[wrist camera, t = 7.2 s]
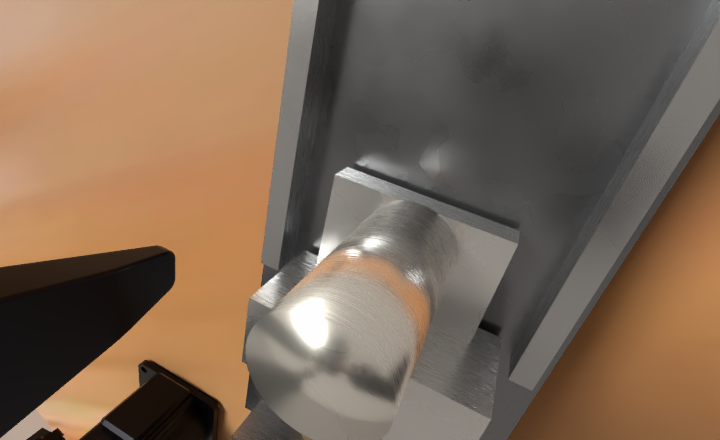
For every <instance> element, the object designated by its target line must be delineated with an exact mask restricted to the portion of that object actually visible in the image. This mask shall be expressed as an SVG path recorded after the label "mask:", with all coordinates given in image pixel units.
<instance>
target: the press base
mask: <svg viewBox="0 0 720 440" xmlns="http://www.w3.org/2000/svg"><path fill="white" fill-rule="evenodd" d="M719 115H720V0H294V4H293V12H292V20H291V28H290V36H289V44H288V52H287V60H286V68H285V76H284V84H283V92H282V100H281V108H280V116H279V124H278V132H277V140H276V148H275V156H274V164H273V172H272V180H271V188H270V196H269V204H268V212H267V220H266V228H265V236H264V244H263V252H262V260H261V263H263V264H264V267H263V274H262V282H261V287H262V286H264V285H265V284H266V283H267V282H268V281H269V280H271V279H272V278H273V277H274V276H275V275H277V274H278V273H279V272H280V271H281V270H283V269H284V268H285V267H286V266H287V265H289V264H290V263H291V262H292V261H293V260H295V259H296V258H297V257H298V256H299V255H301V254H302V253H303V252H304V251H305V250H306V251H308V252H310V253H312V254H315V255H317V256H318V255H319V250H320V245H321V240H322V235H323V230H324V226H325V221H326V216H327V211H328V206H329V201H330V197H331V192H332V187H333V182H334V177H335V174H337V173H338V172H340V171H342V170H343V169H345V168H347V167H349V168H352V169H355V170H357V171H360V172H363V173H365V174H368V175H371V176H373V177H376V178H379V179H381V180H384V181H387V182H390V183H392V184H395V185H398V186H400V187H403V188H406V189H408V190H411V191H414V192H416V193H419V194H422V195H424V196H427V197H430V198H433V199H435V200H438V201H441V202H443V203H446V204H449V205H451V206H454V207H457V208H459V209H462V210H465V211H467V212H470V213H473V214H476V215H478V216H481V217H484V218H486V219H489V220H492V221H494V222H497V223H500V224H502V225H505V226H508V227H510V228H513V229H516V230H519V231H520V233H519V243H518V246H517V248H516V250H515V252H514V254H513V256H512V258H511V260H510V262H509V264H508V266H507V268H506V270H505V273H504V275H503V277H502V279H501V281H500V283H499V285H498V287H497V289H496V291H495V293H494V295H493V297H492V299H491V301H490V303H489V305H488V307H487V309H486V311H485V314H484V316H483V318H482V320H481V322H480V324H479V326H478V328H480V329H482V330H485V331H487V332H489V333H491V334H493V335H496V336H498V337H500V338H502V341H501V348H500V356H499V364H498V371H497V379H496V387H495V394H494V402H493V410H492V417H491V421H490V422H489V424H488V426H487V427H486V429H485V431H484V432H483V434H482V436H481V437H480V439H479V440H507V439H508V437H509V436H510V434H511V433H512V431H513V430H514V428H515V427H516V425H517V424H518V422H519V421H520V419H521V417H522V416H523V414H524V413H525V411H526V410H527V408H528V407H529V405H530V404H531V402H532V401H533V399H534V398H535V396H536V394H537V393H538V391H539V390H540V388H541V387H542V385H543V384H544V382H545V381H546V379H547V378H548V376H549V375H550V373H551V372H552V370H553V368H554V367H555V365H556V364H557V362H558V361H559V359H560V358H561V356H562V355H563V353H564V352H565V350H566V349H567V347H568V346H569V344H570V342H571V341H572V339H573V338H574V336H575V335H576V333H577V332H578V330H579V329H580V327H581V326H582V324H583V323H584V321H585V320H586V318H587V316H588V315H589V313H590V312H591V310H592V309H593V307H594V306H595V304H596V303H597V301H598V300H599V298H600V297H601V295H602V294H603V292H604V290H605V289H606V287H607V286H608V284H609V283H610V281H611V280H612V278H613V277H614V275H615V274H616V272H617V271H618V269H619V268H620V266H621V264H622V263H623V261H624V260H625V258H626V257H627V255H628V254H629V252H630V251H631V249H632V248H633V246H634V245H635V243H636V242H637V240H638V238H639V237H640V235H641V234H642V232H643V231H644V229H645V228H646V226H647V225H648V223H649V222H650V220H651V219H652V217H653V215H654V214H655V212H656V211H657V209H658V208H659V206H660V205H661V203H662V202H663V200H664V199H665V197H666V196H667V194H668V193H669V191H670V189H671V188H672V186H673V185H674V183H675V182H676V180H677V179H678V177H679V176H680V174H681V173H682V171H683V170H684V168H685V167H686V165H687V163H688V162H689V160H690V159H691V157H692V156H693V154H694V153H695V151H696V150H697V148H698V147H699V145H700V144H701V142H702V141H703V139H704V137H705V136H706V134H707V133H708V131H709V130H710V128H711V127H712V125H713V124H714V122H715V121H716V119H717V118H718V116H719ZM245 408H247V409H249V410H251V411H252V412H251V413H250V414H249V415H248V417H247V418H246V419H245V420H244V422H243V423H242V424H241V425H240V427H239V428H238V429H237V430H236V432H235V433H234V434H233V435H232V440H303V437H302V434H301V433H299V432H298V431H296V430H295V429H293V428H292V427H291V426H289V425H288V424H287V423H285V422H284V421H283V420H282V419H281V418H280V417H279V416H278V415H277V414H276V413H275V412H274V411H273V410H272V409H271V408H270V407H269V406H268V405H267V403H266V402H265V401H264V399H263V398H262V397H261V395H260V394H259V392H258V390H257V389H256V387H255V385H254V383H253V381H252V379H251V376H250V375H249V382H248V390H247V398H246V405H245Z"/></svg>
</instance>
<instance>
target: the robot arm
mask: <svg viewBox="0 0 720 440" xmlns="http://www.w3.org/2000/svg"><path fill="white" fill-rule="evenodd" d="M174 282H175V255H174V253H173V252H172V251H170V250H168V249H166V248H164V247H162V246H149V247H142V248H135V249H128V250H121V251H114V252H107V253H99V254H92V255H85V256H78V257H71V258H64V259H56V260H49V261H42V262H35V263H28V264H21V265H14V266H6V267H0V438H1V437H2V436H3V435H5V434H6V433H7V432H8V431H9V430H11V429H12V428H13V427H14V426H15V425H17V424H18V423H19V422H20V421H21V420H23V419H24V418H25V417H26V416H27V415H29V414H30V413H31V412H32V411H33V410H35V409H36V408H37V407H38V406H40V405H41V404H42V403H43V402H44V401H46V400H47V399H48V398H49V397H50V396H52V395H53V394H54V393H55V392H56V391H58V390H59V389H60V388H61V387H62V386H64V385H65V384H66V383H67V382H68V381H70V380H71V379H72V378H73V377H75V376H76V375H77V374H78V373H79V372H81V371H82V370H83V369H84V368H85V367H87V366H88V365H89V364H90V363H91V362H93V361H94V360H95V359H96V358H97V357H99V356H100V355H101V354H102V353H103V352H105V351H106V350H107V349H108V348H110V347H111V346H112V345H113V344H114V343H115V342H117V341H118V340H119V339H120V338H121V337H122V336H123V335H124V334H126V333H127V332H128V331H129V330H130V329H131V328H132V327H133V326H134V325H135V324H136V323H137V322H138V321H139V320H140V319H141V318H142V317H143V316H144V315H145V314H146V313H147V312H148V311H149V310H150V309H151V308H152V307H153V306H154V305H155V304H156V303H157V302H158V301H159V300H160V299H161V298H162V297H163V296H164V295H165V294H166V293H167V292H168V291H169V290H170V289H171V288H172V286H173V284H174ZM138 367H139V383H140V387H139V388H138V389H137V390H136V391H135V392H133V393H132V394H131V395H130V396H129V397H127V398H126V399H125V400H124V401H123V402H121V403H120V404H119V405H118V406H117V407H115V408H114V409H113V410H112V411H111V412H109V413H108V414H107V415H106V416H105V417H103V419H102V420H101V422H99V423H98V424H97V425H96V426H95V427H93V428H92V429H91V430H90V431H89V432H87V433H86V434H85V435H84V436H83V437H81V438H80V439H79V440H216V435H217V422H218V410H219V408H218V405H217V403H216V402H215V401H214V400H213V399H211V398H209V397H208V396H206V395H204V394H203V393H201V392H199V391H198V390H196V389H194V388H193V387H191V386H189V385H188V384H186V383H184V382H183V381H181V380H180V379H178V378H176V377H175V376H173V375H171V374H170V373H168V372H166V371H165V370H163V369H161V368H160V367H158V366H156V365H155V364H153V363H151V362H150V361H148V360H144V361H143V362H142V363H140V364H139V366H138ZM63 436H64V434H63V433H62V432H61V431H60V430H59V429H58V428H57V429H55V430H54V431H53V432H49V431H48V430H45V429H44V428H41V429H40V430H39V431H37V432H36V433H35V434H34V435H32V436H31V437H30V438H28V439H27V440H65V438H64V437H63Z"/></svg>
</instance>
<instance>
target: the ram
mask: <svg viewBox="0 0 720 440" xmlns="http://www.w3.org/2000/svg"><path fill="white" fill-rule="evenodd" d="M519 233H520V231H519V230H516V229H513V228H510V227H508V226H505V225H502V224H500V223H497V222H494V221H492V220H489V219H486V218H484V217H481V216H478V215H476V214H473V213H470V212H467V211H465V210H462V209H459V208H457V207H454V206H451V205H449V204H446V203H443V202H441V201H438V200H435V199H433V198H430V197H427V196H424V195H422V194H419V193H416V192H414V191H411V190H408V189H406V188H403V187H400V186H398V185H395V184H392V183H390V182H387V181H384V180H381V179H379V178H376V177H373V176H371V175H368V174H365V173H363V172H360V171H357V170H355V169H352V168H349V167H347V168H345V169H343V170H342V171H340V172H338V173H337V174H335V177H334V182H333V187H332V192H331V197H330V201H329V206H328V211H327V216H326V221H325V226H324V230H323V235H322V240H321V245H320V250H319V255H318V256H317V255H315V254H312V253H310V252H308V251H306V250H305V251H304V252H303V253H302V254H301V255H299V256H298V257H297V258H296V259H295V260H293V261H292V262H291V263H290V264H289V265H287V266H286V267H285V268H284V269H283V270H281V271H280V272H279V273H278V274H277V275H275V276H274V277H273V278H272V279H271V280H269V281H268V282H267V283H266V284H265V285H264V286H262V287H261V288H260V289H259V290H258V291H256V292H255V293H254V294H253V295H252V296H250V297H249V304H248V313H247V322H246V330H245V339H244V348H243V357H242V362H244V363H246V364H247V367H248V370H249V373H250V376H251V379H252V381H253V383H254V385H255V387H256V389H257V390H258V392H259V394H260V395H261V397H262V398H263V399H264V401H265V402H266V403H267V405H268V406H269V407H270V408H271V409H272V410H273V411H274V412H275V413H276V414H277V415H278V416H279V417H280V418H281V419H282V420H283V421H284V422H285V423H287V424H288V425H289V426H291V427H292V428H293V429H295V430H296V431H298V432H299V433H301V434H303V435H304V436H306V437H308V438H310V439H312V440H381V439H382V440H479V439H480V437H481V436H482V434H483V432H484V431H485V429H486V427H487V426H488V424H489V422H490V421H491V417H492V410H493V402H494V394H495V387H496V379H497V371H498V364H499V356H500V348H501V341H502V338H500V337H498V336H496V335H493V334H491V333H489V332H487V331H485V330H482V329H480V328H478V326H479V324H480V322H481V320H482V318H483V316H484V314H485V311H486V309H487V307H488V305H489V303H490V301H491V299H492V297H493V295H494V293H495V291H496V289H497V287H498V285H499V283H500V281H501V279H502V277H503V275H504V273H505V270H506V268H507V266H508V264H509V262H510V260H511V258H512V256H513V254H514V252H515V250H516V248H517V246H518V243H519Z"/></svg>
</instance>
